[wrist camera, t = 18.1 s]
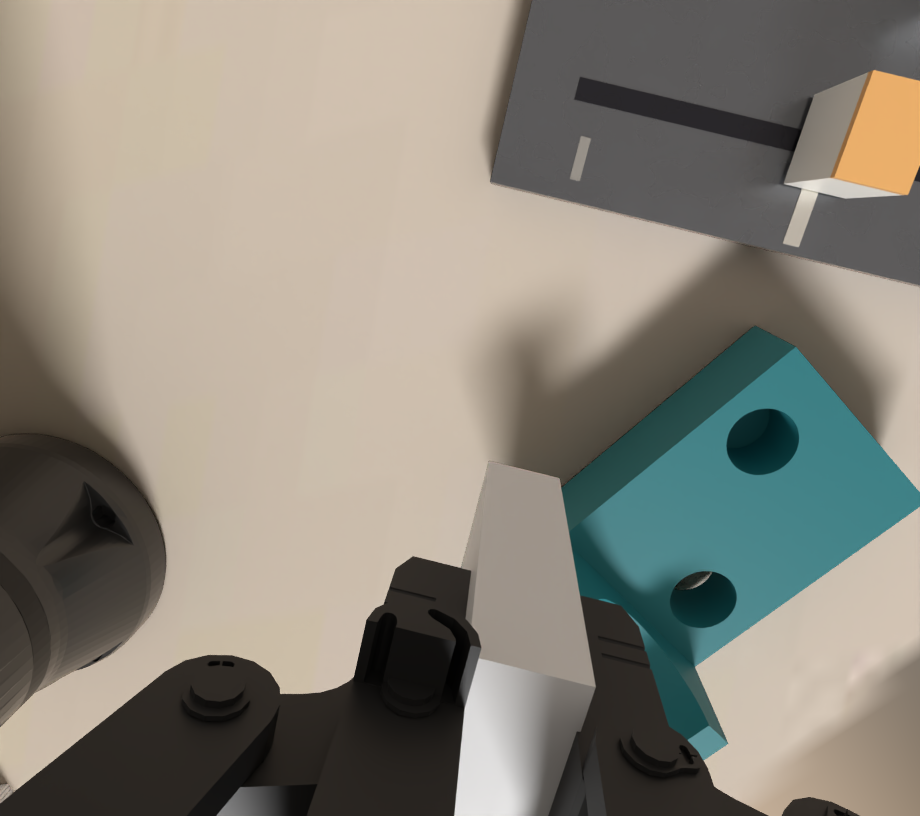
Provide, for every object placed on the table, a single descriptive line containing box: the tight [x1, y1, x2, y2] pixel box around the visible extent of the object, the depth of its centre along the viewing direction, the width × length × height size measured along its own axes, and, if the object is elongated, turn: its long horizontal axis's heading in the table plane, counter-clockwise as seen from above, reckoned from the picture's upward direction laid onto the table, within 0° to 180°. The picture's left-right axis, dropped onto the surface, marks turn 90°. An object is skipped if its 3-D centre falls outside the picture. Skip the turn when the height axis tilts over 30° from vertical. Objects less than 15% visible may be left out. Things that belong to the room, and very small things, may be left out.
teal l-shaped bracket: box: [561, 326, 920, 760], centre depth 35 cm, size 18×11×10 cm, turn 134°
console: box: [490, 0, 920, 287], centre depth 32 cm, size 25×18×2 cm
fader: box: [784, 70, 920, 199], centre depth 29 cm, size 3×4×5 cm
